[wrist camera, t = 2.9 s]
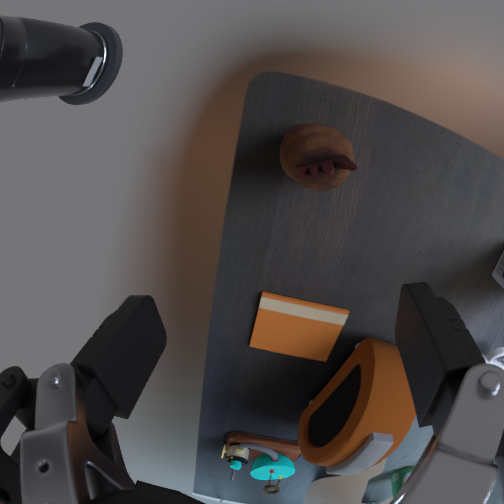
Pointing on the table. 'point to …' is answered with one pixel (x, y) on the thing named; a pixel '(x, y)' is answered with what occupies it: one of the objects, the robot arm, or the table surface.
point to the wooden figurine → (317, 156)
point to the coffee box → (499, 271)
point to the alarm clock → (359, 411)
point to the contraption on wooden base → (262, 456)
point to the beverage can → (400, 478)
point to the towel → (297, 326)
